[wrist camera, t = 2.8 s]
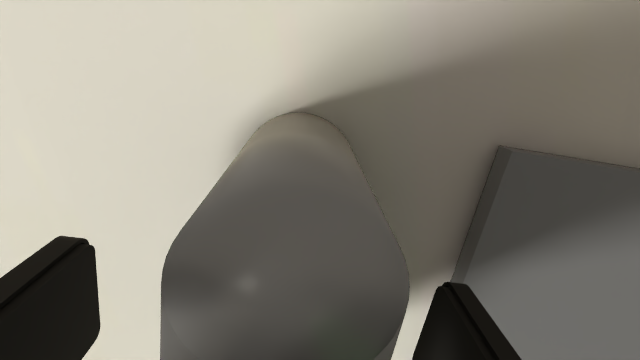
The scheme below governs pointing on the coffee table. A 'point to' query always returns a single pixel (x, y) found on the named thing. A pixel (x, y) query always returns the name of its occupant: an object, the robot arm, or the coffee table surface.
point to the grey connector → (286, 257)
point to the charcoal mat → (558, 256)
